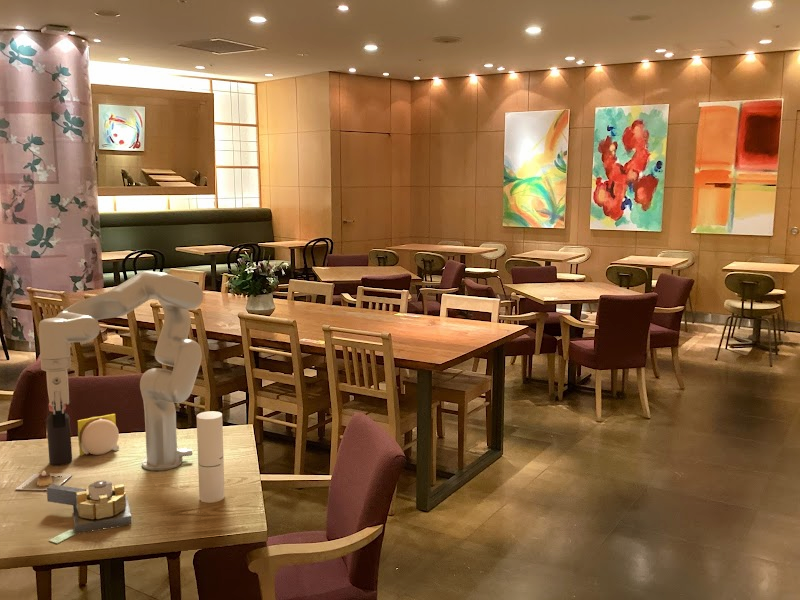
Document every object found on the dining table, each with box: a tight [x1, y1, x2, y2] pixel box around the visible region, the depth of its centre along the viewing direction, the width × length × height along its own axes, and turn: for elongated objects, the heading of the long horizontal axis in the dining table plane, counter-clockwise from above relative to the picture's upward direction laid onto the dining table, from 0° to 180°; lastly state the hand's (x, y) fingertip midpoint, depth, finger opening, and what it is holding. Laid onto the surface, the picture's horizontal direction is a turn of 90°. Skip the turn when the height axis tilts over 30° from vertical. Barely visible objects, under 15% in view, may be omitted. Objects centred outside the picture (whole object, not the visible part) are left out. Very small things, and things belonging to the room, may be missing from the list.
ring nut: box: [46, 483, 126, 519], centre depth 205 cm, size 22×12×6 cm, turn 74°
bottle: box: [45, 402, 73, 466], centre depth 242 cm, size 7×7×20 cm
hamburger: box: [77, 413, 120, 456], centre depth 251 cm, size 12×8×12 cm
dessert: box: [15, 470, 74, 491], centre depth 227 cm, size 12×12×5 cm
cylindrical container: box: [196, 410, 226, 504], centre depth 216 cm, size 7×7×25 cm
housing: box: [48, 480, 132, 545], centre depth 201 cm, size 20×18×10 cm
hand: (59, 426), depth 210 cm, fingers closed
